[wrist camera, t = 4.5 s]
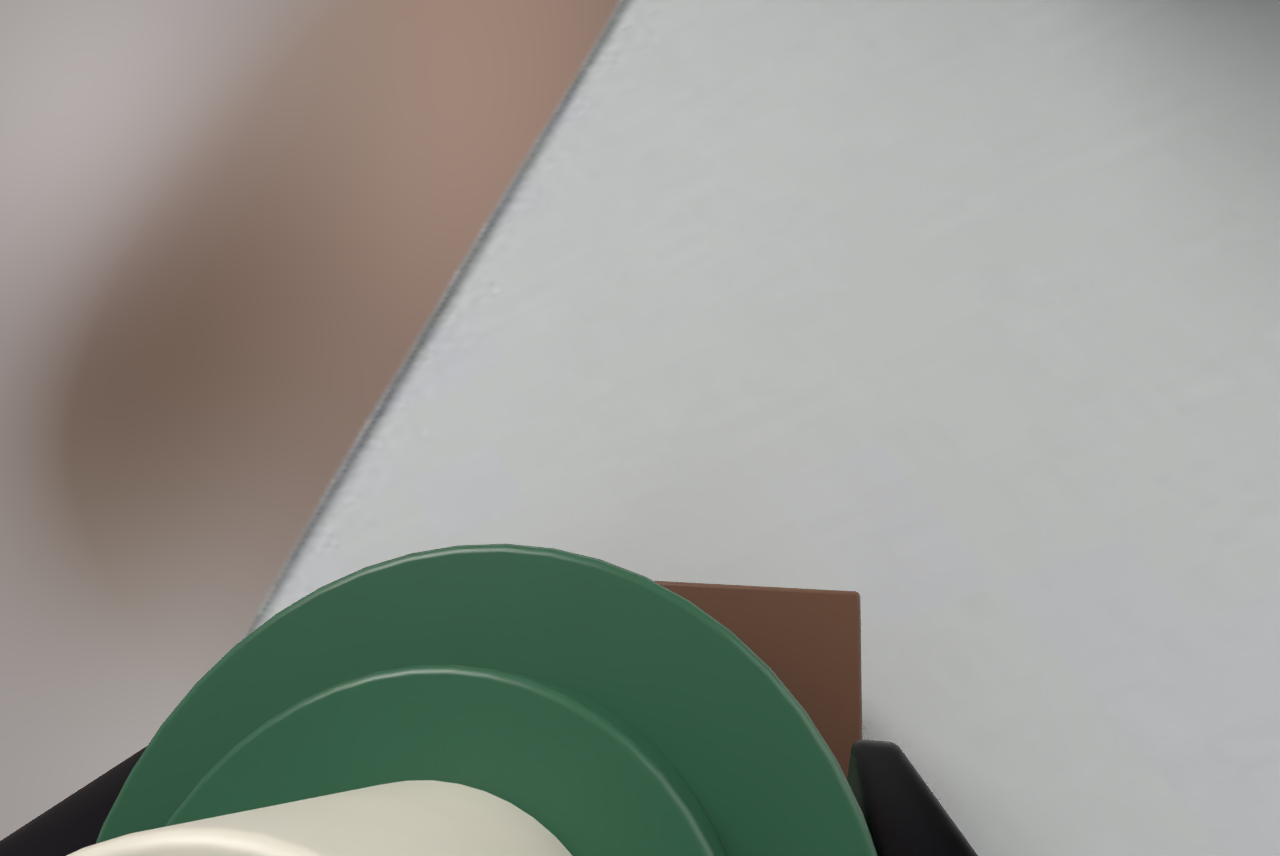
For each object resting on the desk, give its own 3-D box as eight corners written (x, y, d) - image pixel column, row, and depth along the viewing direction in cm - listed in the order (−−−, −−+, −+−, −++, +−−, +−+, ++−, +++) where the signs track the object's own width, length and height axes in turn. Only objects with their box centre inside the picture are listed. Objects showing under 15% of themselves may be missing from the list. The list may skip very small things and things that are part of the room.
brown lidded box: (824, 1010, 18) (868, 1146, 12) (457, 971, 19) (342, 1081, 13) (824, 624, 21) (860, 591, 15) (499, 606, 21) (417, 567, 16)
